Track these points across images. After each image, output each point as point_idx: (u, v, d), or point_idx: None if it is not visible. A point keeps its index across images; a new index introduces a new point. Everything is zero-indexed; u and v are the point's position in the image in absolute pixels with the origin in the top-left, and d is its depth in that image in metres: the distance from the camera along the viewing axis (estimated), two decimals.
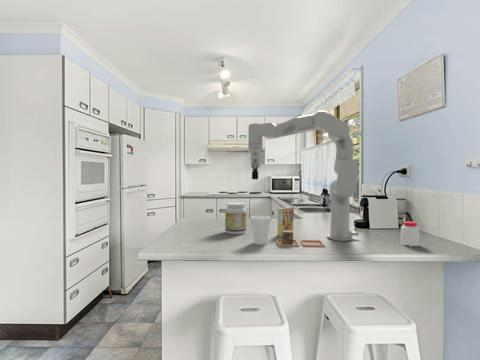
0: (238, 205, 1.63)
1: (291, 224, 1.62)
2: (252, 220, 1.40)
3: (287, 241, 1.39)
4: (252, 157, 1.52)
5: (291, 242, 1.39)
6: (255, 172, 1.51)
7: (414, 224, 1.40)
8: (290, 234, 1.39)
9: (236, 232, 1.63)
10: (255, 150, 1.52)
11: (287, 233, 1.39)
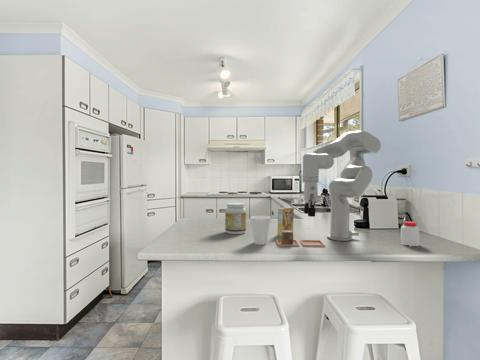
0: (238, 205, 1.63)
1: (291, 224, 1.62)
2: (252, 220, 1.40)
3: (287, 241, 1.39)
4: (309, 191, 1.36)
5: (291, 242, 1.39)
6: (312, 209, 1.35)
7: (414, 224, 1.40)
8: (290, 234, 1.39)
9: (236, 232, 1.63)
10: (312, 184, 1.36)
11: (287, 233, 1.39)
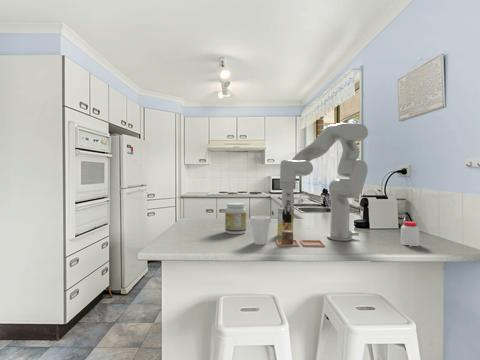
0: (238, 205, 1.63)
1: (291, 224, 1.62)
2: (252, 220, 1.40)
3: (287, 241, 1.39)
4: (285, 198, 1.36)
5: (291, 242, 1.39)
6: (288, 215, 1.35)
7: (414, 224, 1.40)
8: (290, 234, 1.39)
9: (236, 232, 1.63)
10: (288, 190, 1.36)
11: (287, 233, 1.39)
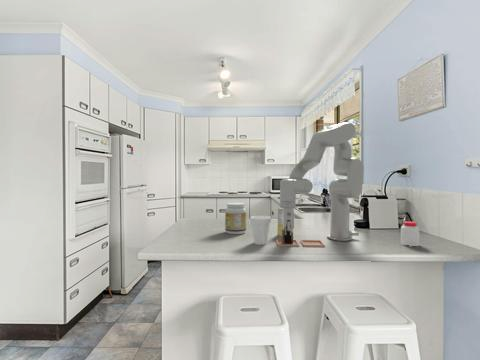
0: (238, 205, 1.63)
1: None
2: (252, 220, 1.40)
3: None
4: (285, 217, 1.37)
5: (291, 242, 1.39)
6: (288, 236, 1.38)
7: (414, 224, 1.40)
8: None
9: (236, 232, 1.63)
10: (288, 210, 1.37)
11: None
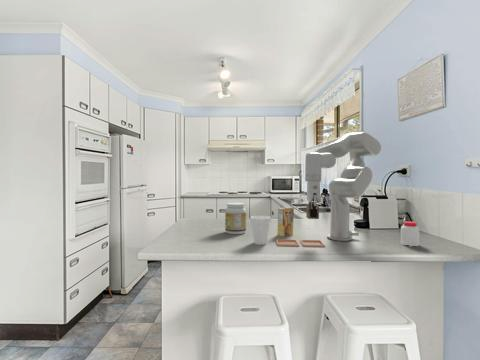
0: (238, 205, 1.63)
1: (291, 224, 1.62)
2: (252, 220, 1.40)
3: None
4: (311, 191, 1.36)
5: (317, 216, 1.38)
6: (314, 210, 1.37)
7: (414, 224, 1.40)
8: None
9: (236, 232, 1.63)
10: (315, 183, 1.36)
11: None
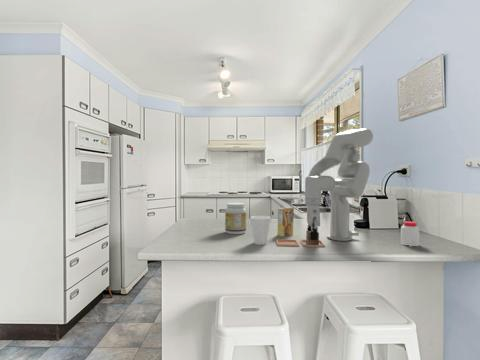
0: (238, 205, 1.63)
1: (291, 224, 1.62)
2: (252, 220, 1.40)
3: (312, 241, 1.39)
4: (311, 215, 1.36)
5: (317, 243, 1.39)
6: (315, 232, 1.35)
7: (414, 224, 1.40)
8: None
9: (236, 232, 1.63)
10: (314, 207, 1.36)
11: None
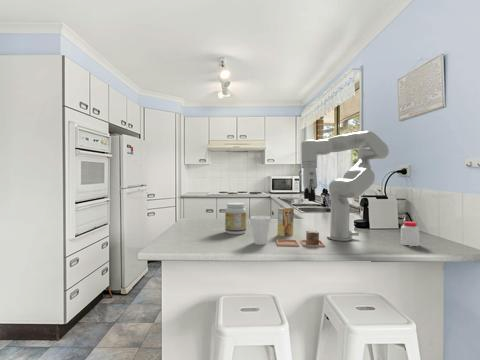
0: (238, 205, 1.63)
1: (291, 224, 1.62)
2: (252, 220, 1.40)
3: (312, 241, 1.39)
4: (308, 177, 1.40)
5: (317, 243, 1.39)
6: (312, 193, 1.39)
7: (414, 224, 1.40)
8: (316, 234, 1.39)
9: (236, 232, 1.63)
10: (311, 169, 1.40)
11: (313, 233, 1.39)
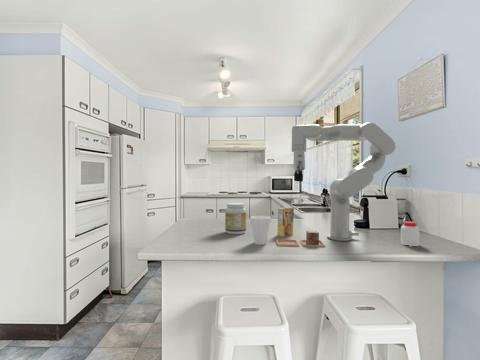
0: (238, 205, 1.63)
1: (291, 224, 1.62)
2: (252, 220, 1.40)
3: (312, 241, 1.39)
4: (297, 159, 1.51)
5: (317, 243, 1.39)
6: (300, 174, 1.50)
7: (414, 224, 1.40)
8: (316, 234, 1.39)
9: (236, 232, 1.63)
10: (300, 152, 1.51)
11: (313, 233, 1.39)
